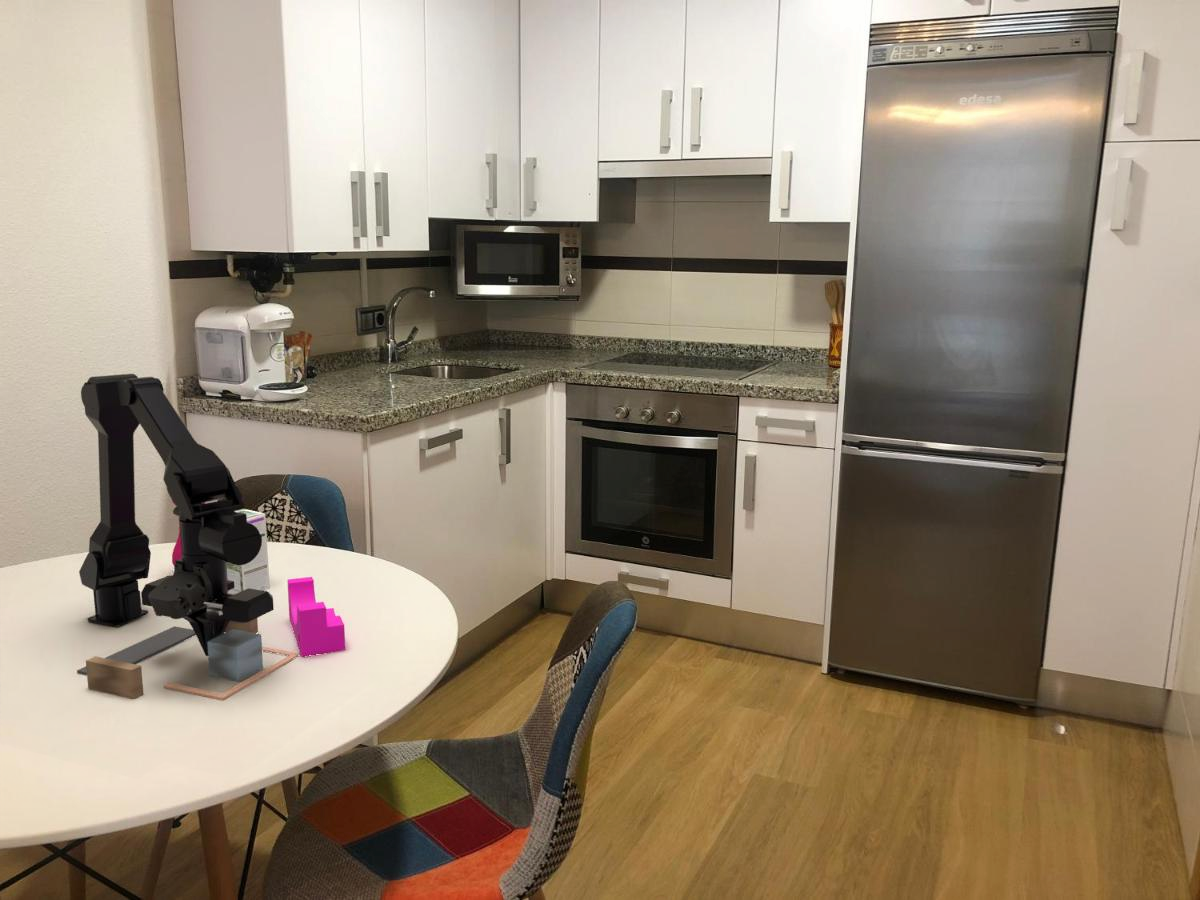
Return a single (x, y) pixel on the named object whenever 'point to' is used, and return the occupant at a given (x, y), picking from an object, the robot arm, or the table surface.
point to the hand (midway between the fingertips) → (210, 655)
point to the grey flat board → (149, 646)
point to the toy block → (313, 620)
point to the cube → (235, 655)
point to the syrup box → (257, 569)
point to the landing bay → (241, 685)
